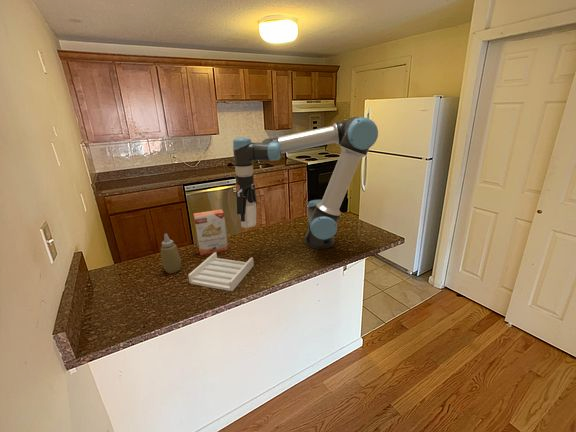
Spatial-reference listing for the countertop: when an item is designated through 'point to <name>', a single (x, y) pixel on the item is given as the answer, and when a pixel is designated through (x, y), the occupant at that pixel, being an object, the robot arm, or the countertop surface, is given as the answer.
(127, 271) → the countertop surface
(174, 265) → the squeeze bottle
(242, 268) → the drying rack
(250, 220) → the white cup
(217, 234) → the cracker box
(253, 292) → the countertop surface
